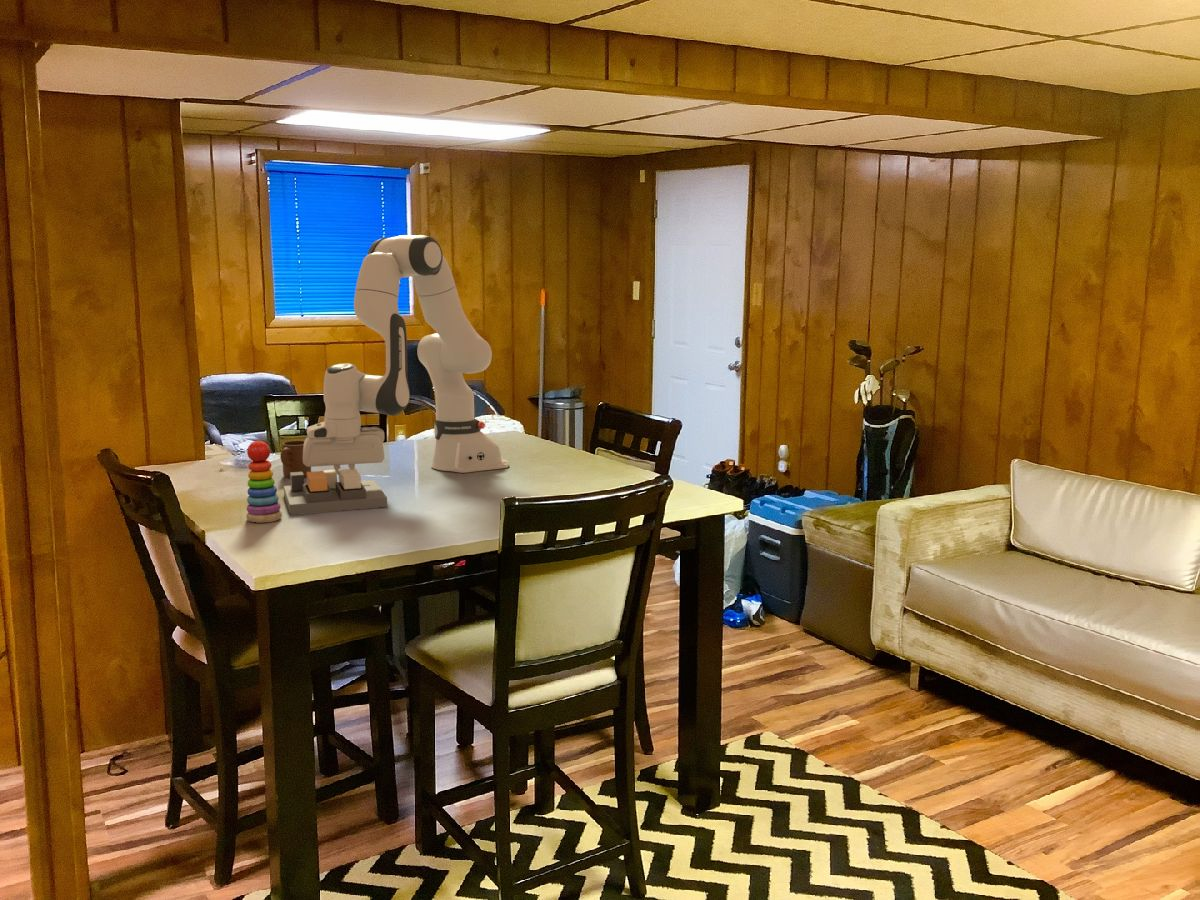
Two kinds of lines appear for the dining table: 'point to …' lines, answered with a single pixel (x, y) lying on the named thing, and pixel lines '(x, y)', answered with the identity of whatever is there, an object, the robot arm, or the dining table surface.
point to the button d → (350, 479)
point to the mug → (293, 458)
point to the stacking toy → (261, 486)
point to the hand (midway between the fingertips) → (344, 481)
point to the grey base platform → (335, 498)
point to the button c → (317, 481)
